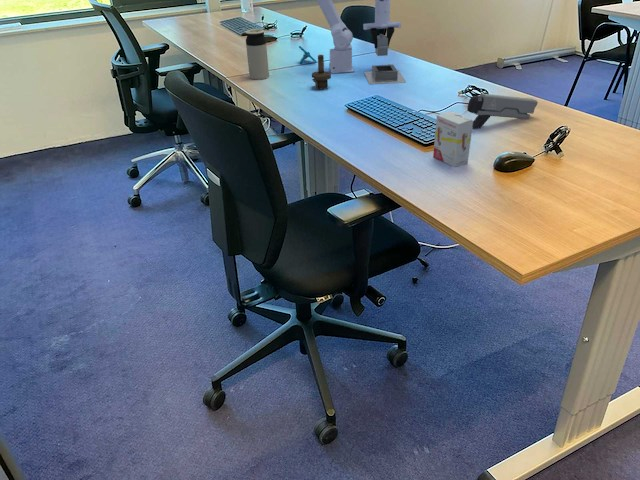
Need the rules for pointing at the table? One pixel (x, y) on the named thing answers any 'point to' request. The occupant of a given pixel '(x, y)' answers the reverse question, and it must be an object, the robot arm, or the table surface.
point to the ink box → (452, 138)
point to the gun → (499, 107)
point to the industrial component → (321, 75)
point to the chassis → (384, 75)
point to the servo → (382, 45)
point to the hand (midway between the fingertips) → (381, 47)
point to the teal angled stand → (306, 55)
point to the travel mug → (257, 54)
